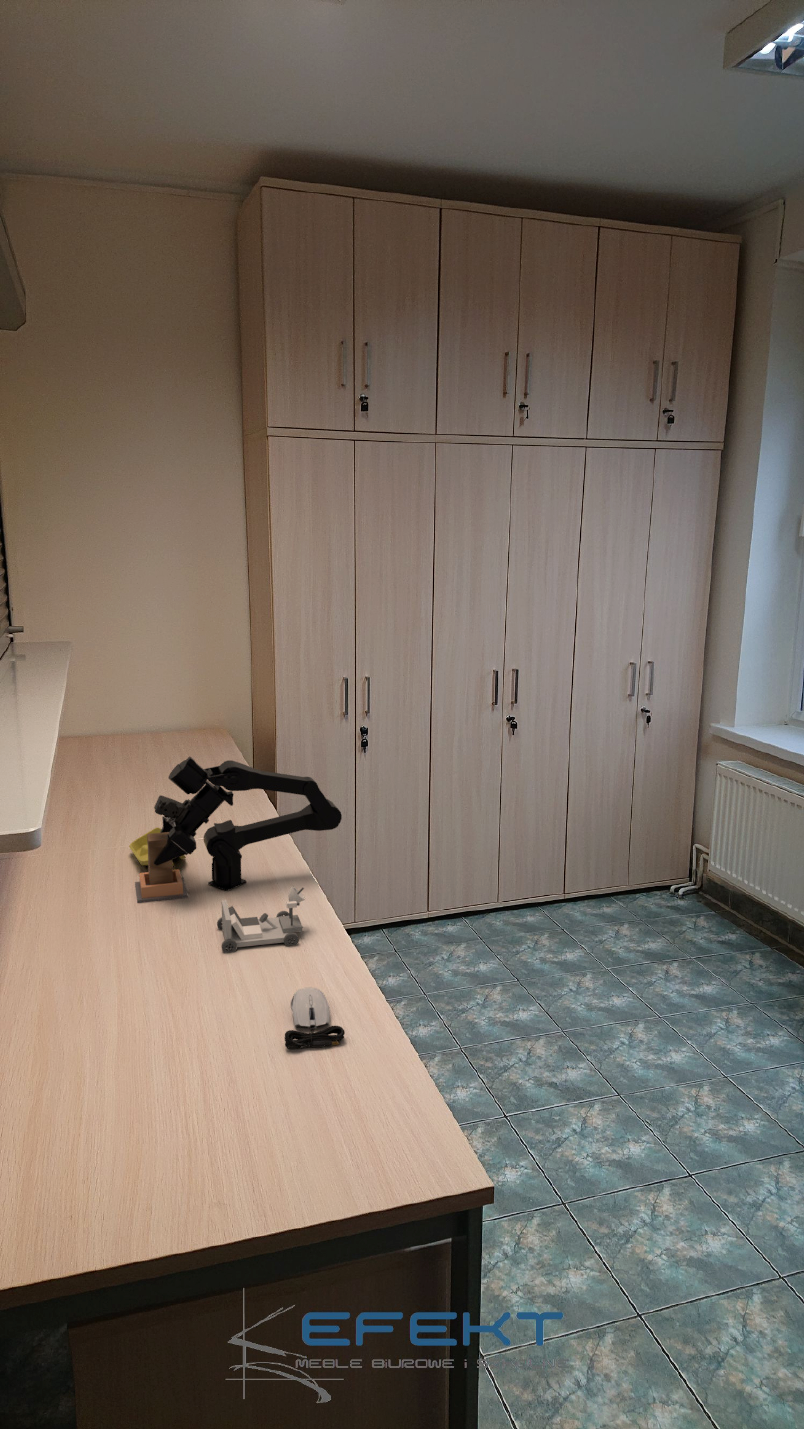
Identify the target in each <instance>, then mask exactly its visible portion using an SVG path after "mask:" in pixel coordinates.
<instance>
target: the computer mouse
mask: <svg viewBox="0 0 804 1429" xmlns="http://www.w3.org/2000/svg"><path fill="white" fill-rule="evenodd" d="M290 1011H291V1012H292V1019H293V1024H294V1027H295V1028H297V1027H302V1028H308V1029H310V1032H303V1031H299V1030H294V1029H293V1030H292V1029H289V1030H287V1031H285V1033H284V1041H285V1042H284V1047H285V1048H287V1049H288V1050H299V1049H301V1048H304V1047H306V1046H307V1048H320V1047H332V1046H339V1045H340V1042H339V1041H338V1040H340V1041H341V1040H342V1039H345V1034H346V1032H345V1029H344V1028H343V1027H342V1026H340V1025H331V1026H328V1025H330V1022H331V1020H330V1019H331V1015H330V1011H331V1010H330V1005H329V1003H328V999H327V997H326V996H325V994H324V992H323V991H322V990H321V989H319V988H317V987H312V986H311V987H303V988H300V989H298V990H296V991H295V993H294V994H293V996H292V998H291V1000H290ZM324 1025H326V1026H327V1027H325V1028H323V1029H320V1030H318V1031H315V1029H316V1028H317V1027H319V1026H324Z"/></svg>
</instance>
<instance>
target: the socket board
mask: <svg viewBox="0 0 804 1429" xmlns="http://www.w3.org/2000/svg"><path fill="white" fill-rule="evenodd" d="M138 877H139V881H135V882H134V885H135V887H134V888H135V892H136V893H135V895H136V900H137V904H139V903H140V904H141V903H149V902H150V903H152V902H159V901H167V900H178V899H180V900H181V899H187V898H189V894H188V889H187V886H186V883H185V877H183V876H182V875H181V872H180V869H179V868H178V869H173V883H166V884H156V885H149V871H146V872H139V876H138Z"/></svg>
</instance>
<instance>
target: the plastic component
mask: <svg viewBox="0 0 804 1429" xmlns="http://www.w3.org/2000/svg"><path fill="white" fill-rule="evenodd" d="M161 829H162V827H158V826H157V827H154V828H153V829H151V830H150V831H148V832H146V833H144V834H142V835H141V836H139V837H138V838H136V839H135V840H133V841H132V842H131V843H130V844H129V846H128V847H129V849H130V850H131V852H132V854H133V856H134V858H136V859H137V861H138V862H139V864H140V865H141V866H143V867H144V866H148V844H147V834H153V833H160V831H161ZM178 858H179V859H181V860H185V859H186V858H187V857H186V855H183V856H180V857H178ZM172 866H173V867H174V866H175V864H174V862H173V861H172Z"/></svg>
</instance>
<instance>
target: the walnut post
mask: <svg viewBox="0 0 804 1429" xmlns="http://www.w3.org/2000/svg"><path fill="white" fill-rule="evenodd" d="M167 834H168V835H169V832H165V833H153V834H147V844H148V865H147V866H148V869H147V870H148V872H149V885H156V884H166V883H173V870H174V868H173V867H174V866H172V862H173V859H172V860H170V861H167V862H165V863H162V864H160V865H158V866H157V865H155V864H154V861H155V859H156V858H157V856H158V855H159V853H160V852H161V851H162V849H163V848H164V846H165V845H166V844H167Z"/></svg>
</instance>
